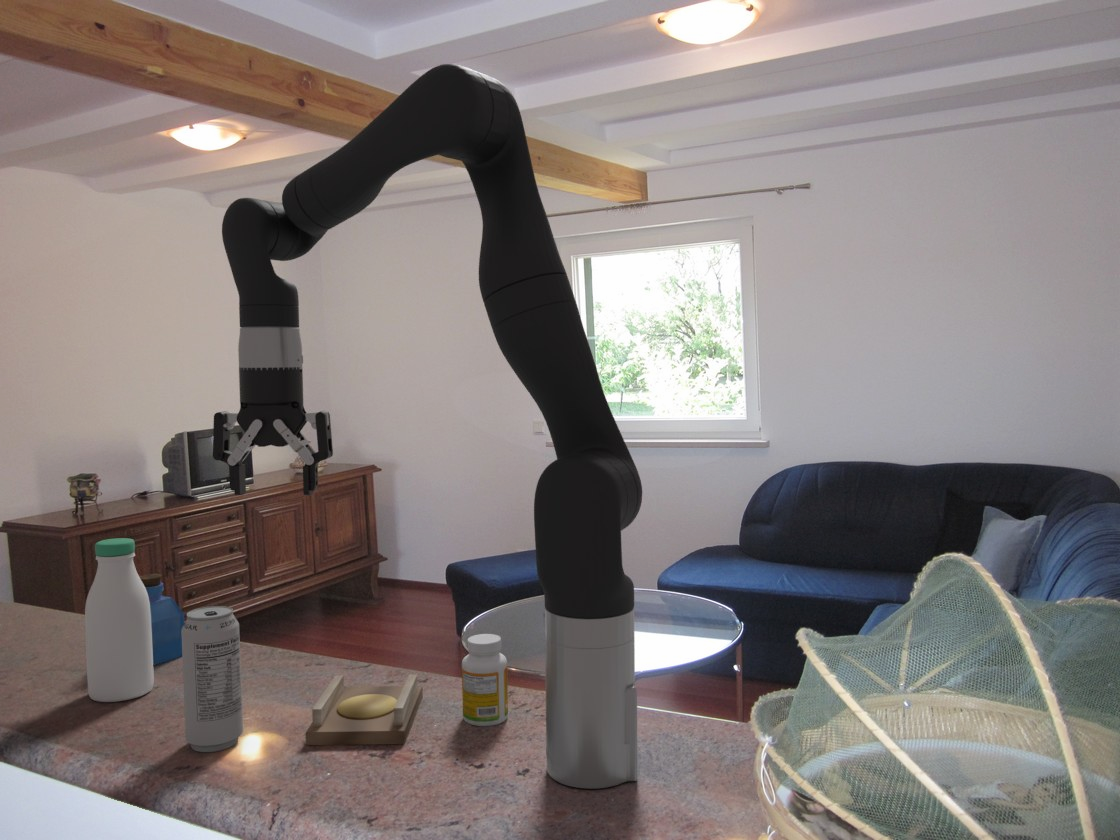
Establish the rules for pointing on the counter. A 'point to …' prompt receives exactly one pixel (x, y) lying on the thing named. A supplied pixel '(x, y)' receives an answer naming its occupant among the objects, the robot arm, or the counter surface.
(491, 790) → the counter surface
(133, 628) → the milk bottle
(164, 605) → the perfume bottle
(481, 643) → the supplement bottle
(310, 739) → the stand
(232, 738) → the energy drink can
